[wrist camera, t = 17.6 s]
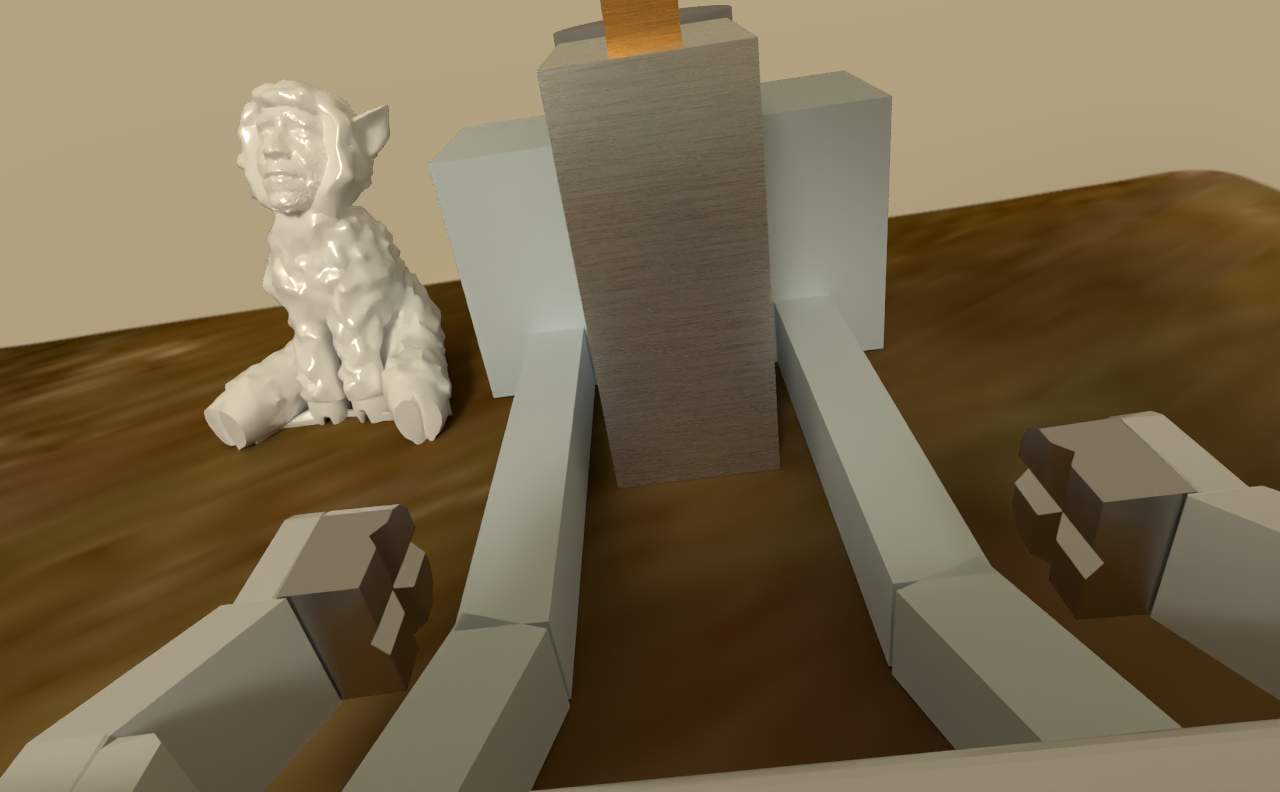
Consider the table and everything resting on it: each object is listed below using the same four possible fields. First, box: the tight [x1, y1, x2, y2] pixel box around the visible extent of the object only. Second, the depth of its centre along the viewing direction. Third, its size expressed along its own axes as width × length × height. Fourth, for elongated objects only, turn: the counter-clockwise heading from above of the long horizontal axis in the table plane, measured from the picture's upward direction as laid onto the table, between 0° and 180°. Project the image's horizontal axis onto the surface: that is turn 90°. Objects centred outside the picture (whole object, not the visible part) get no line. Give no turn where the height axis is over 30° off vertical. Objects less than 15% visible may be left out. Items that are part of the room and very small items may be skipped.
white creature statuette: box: [204, 80, 452, 450], centre depth 28 cm, size 10×9×12 cm
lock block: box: [537, 0, 780, 488], centre depth 22 cm, size 5×6×14 cm
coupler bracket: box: [342, 5, 1182, 792], centre depth 20 cm, size 15×25×12 cm, turn 1°
